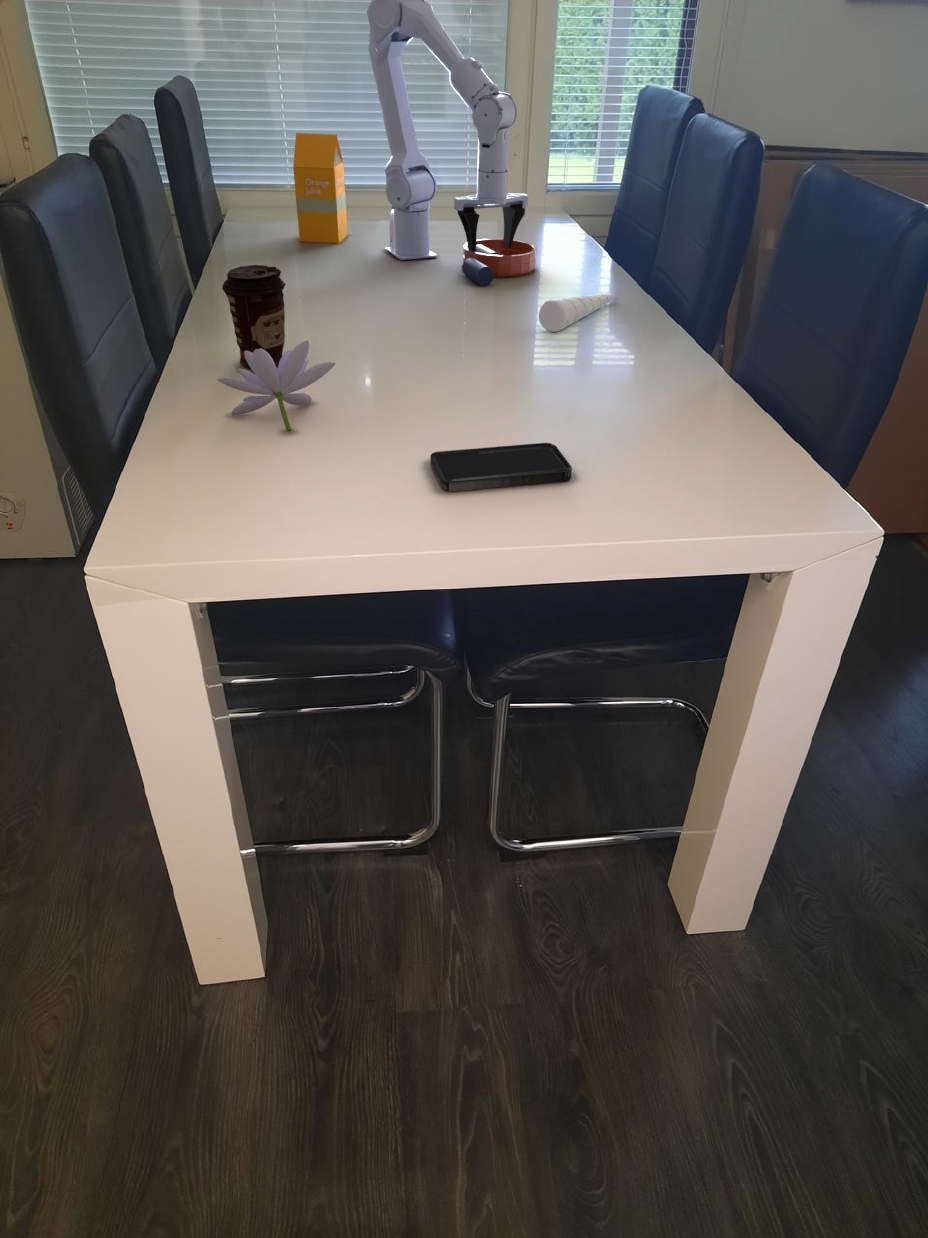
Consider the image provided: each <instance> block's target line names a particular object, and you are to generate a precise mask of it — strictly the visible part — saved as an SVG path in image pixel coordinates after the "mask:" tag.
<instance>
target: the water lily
mask: <svg viewBox="0 0 928 1238" xmlns="http://www.w3.org/2000/svg"><path fill="white" fill-rule="evenodd" d="M309 350H310V341H309V340H304V341H301V342H300V343H299V344H297V345H296V346H295V347H294V348H293V349H288V350H287V351H285V352H284V353H283V354H282V358H281V360H280V362H279V366H278V368H276V366H275V363H274V361H273V359H272V357H271V356H270V355H269V354H268V353H267V352H266V351H265V350H263V349H261V348H260V349H255V350H254V352H253V353H252V352H250V351H246V350H245V351H244V355H245V358H246V360H247V362H248V364H249V366H250V368H251V369H252V370H253V371H248V370H245V369H244V368H242V367H241V368H240V367H239V368H236V371H237V372H238V374H240V376H241V377H243V378H244V379H243V378H238V377H220V378H217V379H216V381H217V382H219V383H221V384H223V385H225V386H227V387H230V388H231V389H234V390H238V391H241V392H245V393H249V394H256V395H249V396H245V397H244V398H243V399H242V402H241V403H240V404H238V405H237V406H235V407H234V408H233V409H232V411H231V416H238V415H244V414H249V413H252V412H255V411H258V410H260V409H262V408H264V407H266V406H267V405H269V404H270V403H272V402H273V401H274V400H275V399H277V401H278V406H279V410H280V413H281V418H282V421H283V424H284V429H285V431H286V432H292V427H291V424H290V421H289V417H288V414H287V411H286V408H285V403H287V404H289V405H293V406H305V405H309V404H312V401H313V399H312V396H311V395H310V394H308V393H305V392H299V393H295V392H297V391H299V390H303V389H305V388H306V387H308V386H311V385H312V384H314V383H315V382H318V380H320V379H322V378H323V377H324V376H325V375H327V374H328V373H329V372H330V371H331V370H332V369H333V368H334V367H335V365H336V362H332V361H331V362H330V361H329V362H323V363H318V364H316V365H314V366H312V367H309V368H308V369H307V367H308V365H309V364H310V363H309V362H310V360H309V359H307V358H308V355H309ZM284 402H285V403H284Z"/></svg>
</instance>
